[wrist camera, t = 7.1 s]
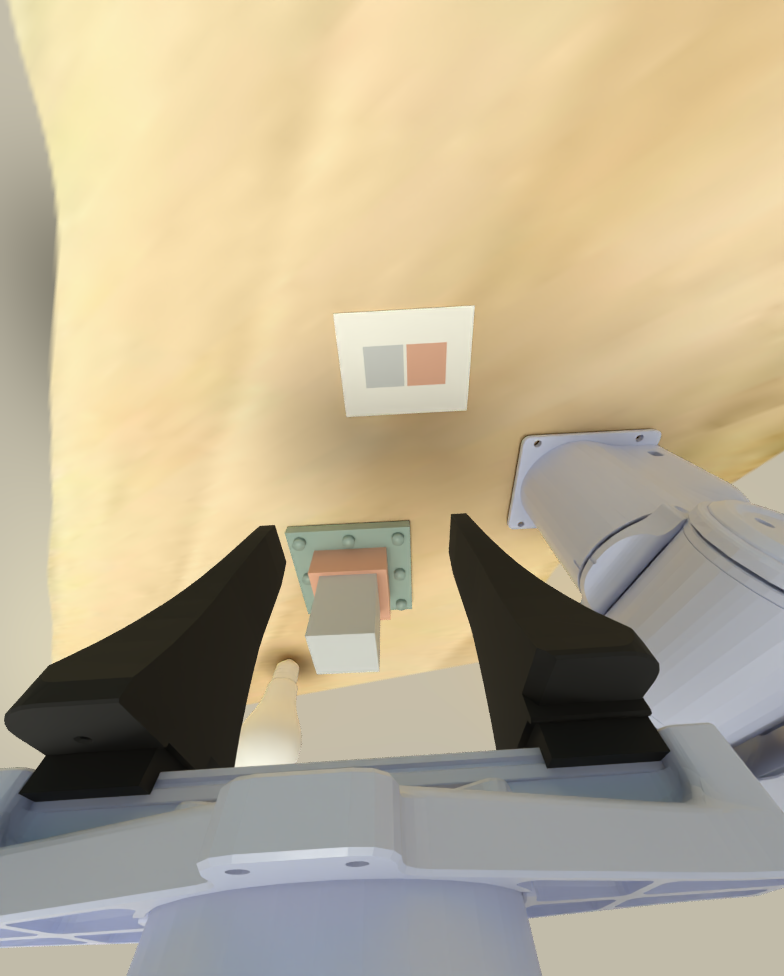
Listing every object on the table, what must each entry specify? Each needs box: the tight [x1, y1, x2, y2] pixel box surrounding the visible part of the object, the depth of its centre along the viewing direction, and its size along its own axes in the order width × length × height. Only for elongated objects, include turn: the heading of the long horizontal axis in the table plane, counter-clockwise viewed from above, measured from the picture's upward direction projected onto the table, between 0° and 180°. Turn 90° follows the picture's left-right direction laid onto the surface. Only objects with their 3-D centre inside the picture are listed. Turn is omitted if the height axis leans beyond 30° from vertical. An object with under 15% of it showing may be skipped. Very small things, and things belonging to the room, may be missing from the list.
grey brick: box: [305, 573, 380, 674], centre depth 23 cm, size 4×4×5 cm
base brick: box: [308, 547, 390, 620], centre depth 26 cm, size 6×6×2 cm
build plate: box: [285, 521, 412, 614], centre depth 27 cm, size 10×10×1 cm
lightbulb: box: [235, 659, 302, 767], centre depth 31 cm, size 6×6×11 cm
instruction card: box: [333, 306, 475, 417], centre depth 19 cm, size 8×6×1 cm
